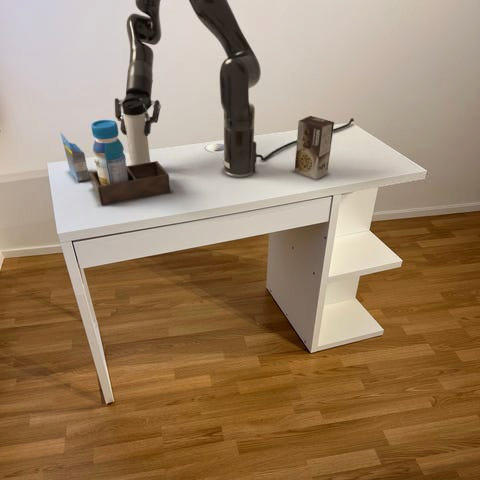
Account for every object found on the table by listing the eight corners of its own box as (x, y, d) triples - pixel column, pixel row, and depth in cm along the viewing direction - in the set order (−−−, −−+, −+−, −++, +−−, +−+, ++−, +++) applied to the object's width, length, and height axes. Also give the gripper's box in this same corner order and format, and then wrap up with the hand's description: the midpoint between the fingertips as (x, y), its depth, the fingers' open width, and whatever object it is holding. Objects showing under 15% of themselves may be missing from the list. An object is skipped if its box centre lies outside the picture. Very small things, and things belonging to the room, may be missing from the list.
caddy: (159, 178, 143) (157, 160, 140) (170, 192, 136) (168, 174, 132) (93, 189, 137) (89, 171, 133) (101, 205, 129) (97, 187, 125)
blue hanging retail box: (90, 179, 142) (82, 139, 134) (77, 182, 140) (68, 141, 132) (81, 169, 147) (72, 130, 139) (69, 172, 146) (59, 132, 138)
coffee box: (328, 174, 147) (335, 121, 137) (316, 180, 144) (323, 127, 133) (305, 165, 152) (310, 114, 141) (293, 171, 148) (298, 119, 138)
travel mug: (153, 162, 150) (145, 97, 136) (148, 171, 145) (139, 104, 132) (134, 161, 150) (125, 96, 137) (128, 170, 145) (118, 103, 132)
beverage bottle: (127, 200, 131) (116, 129, 118) (98, 200, 131) (83, 128, 118) (133, 187, 138) (123, 118, 125) (105, 187, 138) (92, 118, 125)
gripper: (112, 72, 137) (107, 127, 136) (160, 74, 136) (155, 129, 135) (120, 87, 144) (115, 138, 143) (165, 88, 143) (161, 141, 142)
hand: (135, 134), depth 139 cm, fingers closed on travel mug, 6 cm apart
